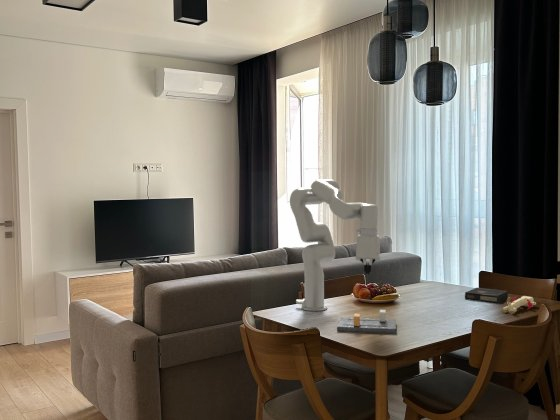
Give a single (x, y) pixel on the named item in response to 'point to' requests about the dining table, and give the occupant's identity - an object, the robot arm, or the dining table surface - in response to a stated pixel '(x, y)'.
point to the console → (367, 325)
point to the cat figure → (518, 304)
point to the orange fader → (356, 319)
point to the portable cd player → (486, 295)
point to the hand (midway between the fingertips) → (367, 273)
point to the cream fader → (383, 315)
